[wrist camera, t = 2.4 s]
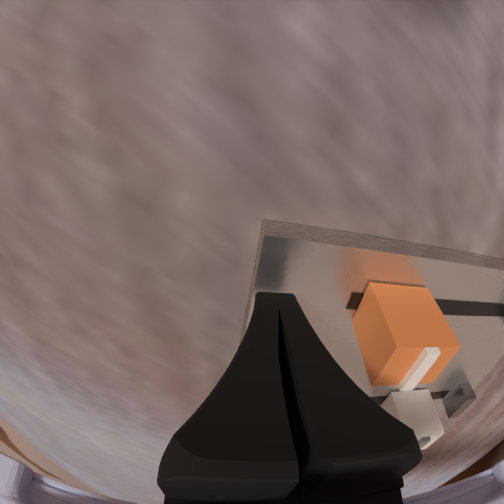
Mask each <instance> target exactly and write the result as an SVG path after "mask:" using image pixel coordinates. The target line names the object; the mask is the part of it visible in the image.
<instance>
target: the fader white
mask: <svg viewBox="0 0 504 504" xmlns="http://www.w3.org/2000/svg"><path fill="white" fill-rule="evenodd" d="M380 407H382V408H383V409H384V410H385V411H387V412H388V413H389V414H391V415H392V416H393V417H395V418H396V419H398V420H399V421H401V422H402V423H404V424H405V425H407V426H408V427H410V428H411V429H413V430H414V433H415V435H416V438H417V440H418V443H419V446H420V450H423V449H426V448H427V447H429V446H430V445H431V444H432V443H433V442H435V441H436V440H437V439H438V438H439V437H440V436H442V435H443V434H444V430H443V427H442V424H441V421H440V419H439V416H438V413H437V410H436V407H435V405H434V402H433V399H432V397H431V394H430V391H429V389H424V390H413V391H400V392H391V393H390V394H389V396H388V397H387V398H386V399H385V401H384V402H383V403H382V404H381V406H380Z"/></svg>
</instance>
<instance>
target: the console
mask: <svg viewBox="0 0 504 504" xmlns="http://www.w3.org/2000/svg"><path fill="white" fill-rule="evenodd" d="M369 282H373V283H383V284H393V285H402V286H412V287H422V288H428V290H429V291H430V293H431V295H432V296H433V298H434V300H435V301H436V303H437V305H438V306H439V308H440V310H441V311H442V313H443V315H444V317H445V318H446V320H447V322H448V324H449V325H450V327H451V329H452V331H453V333H454V334H455V336H456V338H457V340H458V342H459V344H460V345H461V347H460V348H459V350H458V351H457V352H456V354H455V355H454V356H453V358H452V359H451V360H450V362H449V363H448V364H447V366H446V367H445V368H444V369H443V371H442V372H441V373H440V374H439V376H438V377H437V378H436V379H435V381H434V382H433V383H423V384H417V385H416V386H415V388H414V389H413V390H424V389H429V391H430V394H431V397H432V399H433V402H434V405H435V407H436V410H437V411H442V410H446V413H447V415H448V418H454V417H458V416H459V415H460V414H461V413H462V412H463V411H464V410H465V409H466V408H467V407H468V406H469V405H470V404H471V403H472V402H473V401H474V400H475V399H476V396H475V394H474V391H473V390H474V389H475V388H476V386H477V385H478V384H479V383H480V382H481V381H482V380H483V379H484V377H485V376H486V375H487V374H488V373H489V371H490V370H491V369H492V368H493V367H494V365H495V364H496V363H497V362H498V361H499V359H500V358H501V357H502V356H503V354H504V260H503V259H498V258H493V257H488V256H483V255H478V254H473V253H468V252H462V251H457V250H451V249H446V248H441V247H435V246H429V245H424V244H418V243H412V242H406V241H400V240H395V239H389V238H382V237H376V236H370V235H364V234H358V233H351V232H345V231H338V230H332V229H325V228H318V227H312V226H305V225H298V224H291V223H284V222H276V221H269V220H263V223H262V229H261V234H260V239H259V245H258V250H257V256H256V261H255V267H254V272H253V277H252V283H251V288H250V293H249V299H248V304H247V309H246V315H245V320H244V326H243V331H242V336H241V341H240V344H241V342H242V340H243V337H244V335H245V333H246V330H247V328H248V325H249V322H250V320H251V317H252V313H253V310H254V302H255V294H256V293H258V292H274V293H293V294H294V295H295V296H296V299H297V301H298V303H299V305H300V307H301V308H302V310H303V312H304V314H305V316H306V317H307V319H308V321H309V323H310V324H311V326H312V328H313V329H314V331H315V332H316V334H317V335H318V337H319V339H320V340H321V342H322V343H323V344H324V346H325V347H326V349H327V350H328V351H329V353H330V354H331V356H332V357H333V358H334V359H335V361H336V362H337V363H338V364H339V366H340V367H341V368H342V369H343V370H344V372H345V373H346V374H347V375H348V376H349V377H350V378H351V379H352V380H353V381H354V382H355V384H356V385H357V386H358V387H359V388H360V389H362V390H363V391H364V392H365V393H366V394H367V395H368V396H369V397H370V398H371V399H372V400H373V401H374V402H376V403H377V404H378V405H379V406H381V404H382V403H383V402H384V401H385V399H386V398H387V397H388V396H389V394H390V393H391V392H400V391H399V388H398V385H393V386H371V385H370V381H369V378H368V374H367V371H366V367H365V364H364V360H363V357H362V353H361V350H360V347H359V343H358V340H357V337H356V334H355V330H354V327H353V324H352V320H353V318H354V315H355V313H356V311H357V309H358V307H359V304H360V302H361V300H362V298H363V295H364V293H365V291H366V289H367V286H368V284H369ZM413 390H412V391H413Z"/></svg>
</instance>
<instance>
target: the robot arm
mask: <svg viewBox="0 0 504 504" xmlns="http://www.w3.org/2000/svg"><path fill="white" fill-rule="evenodd" d="M421 459H422V454H421V450H420V446H419V443H418V440H417V438H416V435H415V433H414V430H413V429H411V428H410V427H408V426H407V425H405V424H404V423H402V422H401V421H399V420H398V419H396V418H395V417H393V416H392V415H391V414H389V413H388V412H387V411H385V410H384V409H383V408H382V407H380V406H379V405H378V404H377V403H376V402H374V401H373V400H372V399H371V398H370V397H369V396H368V395H367V394H366V393H365V392H364V391H363V390H362V389H360V388H359V387H358V386H357V385H356V384H355V382H354V381H353V380H352V379H351V378H350V377H349V376H348V375H347V374H346V373H345V372H344V370H343V369H342V368H341V367H340V366H339V364H338V363H337V362H336V361H335V359H334V358H333V357H332V356H331V354H330V353H329V351H328V350H327V349H326V347H325V346H324V344H323V343H322V342H321V340H320V339H319V337H318V335H317V334H316V332H315V331H314V329H313V328H312V326H311V324H310V323H309V321H308V319H307V317H306V316H305V314H304V312H303V310H302V308H301V307H300V305H299V303H298V301H297V299H296V296H295V295H294V294H293V293H274V292H258V293H256V294H255V302H254V310H253V313H252V317H251V320H250V322H249V325H248V328H247V330H246V333H245V335H244V337H243V340H242V342H241V344H240V346H239V348H238V350H237V352H236V354H235V356H234V358H233V360H232V361H231V363H230V365H229V366H228V368H227V370H226V371H225V373H224V375H223V376H222V377H221V379H220V380H219V382H218V383H217V385H216V386H215V388H214V389H213V391H212V392H211V393H210V395H209V396H208V397H207V398H206V399H205V401H204V402H203V403H202V404H201V406H200V407H199V408H198V409H197V410H196V412H195V413H194V414H193V415H192V416H191V417H190V418H189V419H188V420H187V421H186V422H185V423H184V424H183V425H182V426H181V427H180V428H179V430H178V431H177V432H176V433H175V434H174V435H173V437H172V439H171V440H170V442H169V444H168V446H167V448H166V450H165V452H164V454H163V456H162V459H161V462H160V465H159V471H158V477H157V484H158V486H159V487H160V489H161V490H162V492H163V493H164V494H165V500H164V504H504V459H503V460H501V461H500V462H498V463H497V464H496V465H494V466H493V467H492V468H491V469H489V470H486V471H484V472H482V473H480V474H477V475H474V476H472V477H469V478H467V479H464V480H462V481H459V482H456V483H453V484H450V485H447V486H445V487H441V488H438V489H435V490H432V491H429V492H425V493H422V494H418V495H415V496H411V497H407V498H403V499H402V495H401V490H400V488H402V487H403V486H404V483H403V478H402V476H403V475H405V474H406V473H408V472H409V471H410V470H411V469H413V468H414V467H415V466H416V465H417V464H418V463H419V462H420V461H421ZM0 504H136V503H131V502H127V501H123V500H118V499H114V498H110V497H107V496H103V495H99V494H95V493H92V492H89V491H85V490H82V489H79V488H76V487H73V486H70V485H67V484H64V483H61V482H59V481H56V480H53V479H51V478H48V477H45V476H43V475H40V474H38V473H35V472H33V470H32V469H31V468H29V467H28V466H27V465H25V464H24V463H22V462H20V461H18V460H16V459H14V458H12V457H10V456H8V455H6V454H4V453H2V452H0Z"/></svg>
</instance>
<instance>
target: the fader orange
mask: <svg viewBox="0 0 504 504" xmlns="http://www.w3.org/2000/svg"><path fill="white" fill-rule="evenodd" d="M352 324H353V327H354V330H355V334H356V337H357V340H358V343H359V347H360V350H361V353H362V357H363V360H364V364H365V367H366V371H367V374H368V378H369V381H370V385H371V386H393V385H398V388H399V391H412V390H413V389H414V388H415V386H416V385H417V384H423V383H433V382H434V381H435V379H436V378H437V377H438V376H439V374H440V373H441V372H442V371H443V369H444V368H445V367H446V366H447V364H448V363H449V362H450V360H451V359H452V358H453V356H454V355H455V354H456V352H457V351H458V350H459V348H460V347H461V345H460V344H459V342H458V340H457V338H456V336H455V334H454V333H453V331H452V329H451V327H450V325H449V324H448V322H447V320H446V318H445V317H444V315H443V313H442V311H441V310H440V308H439V306H438V305H437V303H436V301H435V300H434V298H433V296H432V295H431V293H430V291H429V290H428V288H422V287H412V286H402V285H393V284H383V283H373V282H369V284H368V286H367V289H366V291H365V293H364V295H363V298H362V300H361V302H360V304H359V307H358V309H357V311H356V313H355V315H354V318H353V320H352Z"/></svg>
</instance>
